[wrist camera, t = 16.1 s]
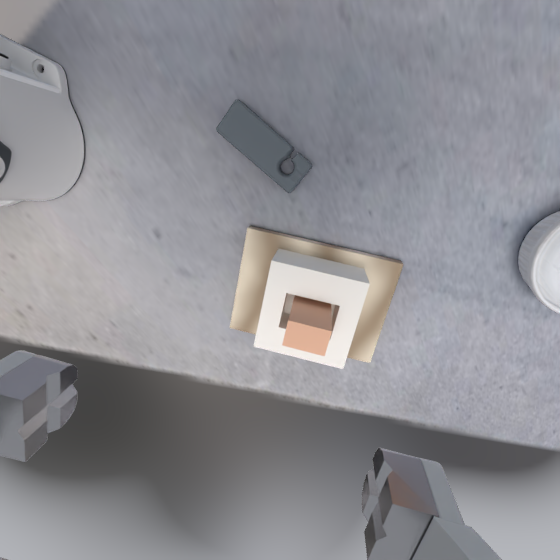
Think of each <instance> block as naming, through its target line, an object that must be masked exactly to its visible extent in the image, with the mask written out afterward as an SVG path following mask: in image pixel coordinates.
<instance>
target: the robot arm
mask: <svg viewBox="0 0 560 560" xmlns="http://www.w3.org/2000/svg"><path fill="white" fill-rule="evenodd" d="M42 67H44V72H42ZM83 159H84V141H83V135H82V130H81V127H80V124H79V121H78V118H77V116H76V114H75V112H74V109H73V107H72V105H71V103H70V100H69V96H68V86H67V79H66V75H65V72H64V70H63V68H62V67H61V66H60V65H59V64H58V63H56V62H54V61H52V60H50V59H48V58H46V57H44V56H42V55H40V54H38V53H36V52H34V51H32V50H30V49H28V48H27V47H25V46H23V45H21V44H19V43H17V42H15V41H13V40H11V39H9V38H7V37H5V36H3V35H1V34H0V206H11V205H14V204H17V203H19V202H21V201H24V200H30V201H48V200H52V199H55V198H58V197H60V196H62V195H63V194H65V193H66V192H67V191H68V190H69V189H70V188H71V187H72V186H73V185H74V184H75V182H76V180H77V179H78V177H79V174H80V172H81V169H82V165H83ZM77 370H78V369H77V367H75V366H74V365H72V364H68V363H65V362H62V361H58V360H55V359H51V358H48V357H45V356H41V355H37V354H33V353H30V352H27V351H23V350H22V351H15V352H14V353H12V354H10V355H8V356H7V357H5V358H3V359H1V360H0V456H4V457H8V458H12V459H15V460H19V461H23V462H26V461H27V460H28V459H29V458H30V457H31V456H32V455H33V454H34V453H35V452H36V451H37V450H38V449H39V448H40V447H41V446H42V445H43V444H44V443H45V442H47V436H48V433H49V432H52V431H54V430H57V429H59V428H61V427H62V426H63V425H64V424H65V423H66V422H67V421H68V420H69V418H70V416H71V415H72V413H73V411H74V409H75V407H76V403H77V391H76V389H75V388H74V386H73V383H74V382H75V381H76V380H77V379H78V371H77ZM373 466H374V469H372V470H370V471H369V472H367V475H366V477H365V480H364V484H363V490H362V513H363V515H364V516H365V518H366V519H367V521H368V524H367V526H366V529H365V531H364V534H365V543H366V553H367V560H502V559H501V558H500V557H499V556H498V555H497V554H496V553H495V552H494V551H493V550H492V549H491V547H490V546H489V545H488V544H487V543H486V542H485V541H484V540H483V539H482V538H481V537H480V536H479V535H478V533H477V532H475V530H474V529H473V528H472V527H469V526H466V525H465V524H464V521H463V519H462V516H461V514H460V511H459V508H458V506H457V503H456V501H455V499H454V496H453V493H452V491H451V488H450V485H449V483H448V480H447V478H446V475H445V473H444V470H443V468H442V466H441V465H440V464H439V463H438V462H434V461H430V460H426V459H422V458H416V457H413V456H409V455H405V454H401V453H397V452H394V451H390V450H386V449H382V448H378V449H377V451H376V452H375V454H374V457H373ZM0 560H7V559H4V558H1V557H0Z"/></svg>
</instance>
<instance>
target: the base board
mask: <svg viewBox="0 0 560 560" xmlns="http://www.w3.org/2000/svg"><path fill="white" fill-rule="evenodd" d="M278 249H283V250H288V251H292V252H296V253H300V254H305V255H309V256H313V257H317V258H322V259H326V260H330V261H334V262H339V263H343V264H347V265H351V266H356V267H360V268H364V269H365V272H366V275H367V277H368V280H369V283H370V285H369V288H368V291H367V295H366V298H365V301H364V304H363V307H362V311H361V314H360V317H359V320H358V323H357V327H356V330H355V333H354V336H353V339H352V343H351V346H350V349H349V352H348V356H347V357H348V358H352V359H356V360H360V361H364V362H368V363H370V361H371V359H372V356H373V353H374V350H375V347H376V344H377V341H378V338H379V335H380V332H381V329H382V326H383V323H384V320H385V317H386V314H387V311H388V309H389V306H390V303H391V300H392V297H393V294H394V291H395V288H396V285H397V282H398V279H399V276H400V273H401V270H402V267H403V263H402V262H401V261H399V260H395V259H391V258H386V257H382V256H378V255H373V254H369V253H365V252H360V251H356V250H352V249H348V248H343V247H339V246H335V245H330V244H326V243H322V242H317V241H313V240H309V239H305V238H300V237H296V236H292V235H287V234H283V233H279V232H274V231H270V230H266V229H262V228H257V227H253V226H249V227H248V228H247V233H246V239H245V244H244V250H243V256H242V261H241V267H240V272H239V278H238V284H237V289H236V295H235V301H234V306H233V312H232V318H231V323H230V328H232V329H236V330H240V331H244V332H248V333H252V334H256V332H257V328H258V323H259V318H260V313H261V308H262V303H263V299H264V294H265V289H266V284H267V279H268V274H269V270H270V265H271V260H272V259H273V257H274V255H275V254H276V252H277V250H278Z"/></svg>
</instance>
